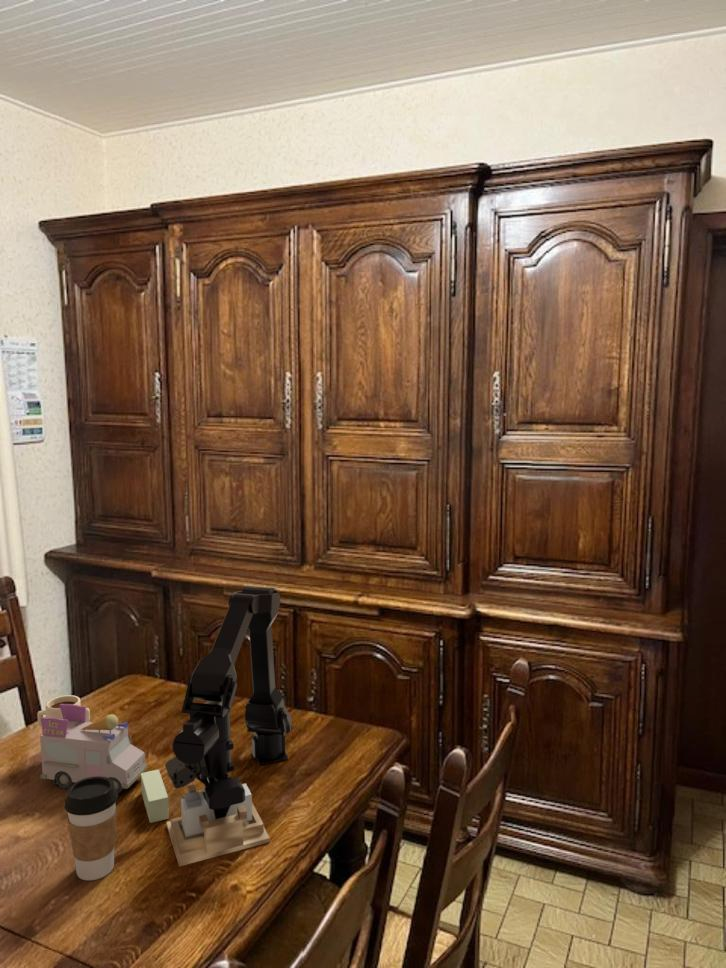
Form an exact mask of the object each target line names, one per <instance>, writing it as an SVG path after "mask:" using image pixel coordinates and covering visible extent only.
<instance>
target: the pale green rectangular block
mask: <svg viewBox="0 0 726 968" xmlns="http://www.w3.org/2000/svg"><path fill="white" fill-rule="evenodd" d="M140 785H141V787H140V788H141V795H142V799H143V803H144V807H145V810H146V815H147V817H148V820H149V824H152V823H156V822H160V821H164V820H167V819H168V820H169V819H170V812H169V811H170V810H169V808H170V807H169V795H168V793H167V789H166V786H165V784H164V780H163V778H162V775H161V772H160V769H153V770H150V771H144V772H143V773H141V775H140Z"/></svg>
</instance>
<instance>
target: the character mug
mask: <svg viewBox="0 0 726 968" xmlns="http://www.w3.org/2000/svg"><path fill="white" fill-rule="evenodd" d="M60 704H64V705H68V704H72V705H79V706H82V704H81V698H80V697H79V696H76V695H73V694H72V695H71V694H70V695H68V694H65V695H60V696H57V697H53V698H51V699H50V700H48V701H47V702H46V703H45V710H39V711H37V725H38V726H42V723H41V718H42V717H43V716H45V718H59V719H63V716H62V712H61V709H60ZM90 720H91V710H90V708H89V707H86V722H91V721H90Z"/></svg>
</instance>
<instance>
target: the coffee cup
mask: <svg viewBox="0 0 726 968" xmlns="http://www.w3.org/2000/svg"><path fill="white" fill-rule="evenodd" d="M66 792H67V793H66V797H65V800H64V805H63V806H64V809H65V811H66V812H67V815H68V816H67V824H68V830H69V837H70V841H71V842H70V843H71V848H72V854H73V857H74V863H75V864H74V865H75V872H76V875H77V877H78V878H79V879H81V880H83V881H96V880H99V879H102V878H104V877H106V876H107V875H109V874H110V873H111V872H112V871H113V868H114V865H115V845H116V830H117V829H116V827H117V825H116V824H117V806H116V803H117V800H118V797H119V793H118V794H117V790H116V788H115V786H114V782H113V781H112V780H111V779H109V778H106V777H101V776H96V777H89V778H85V779H82V780H80V781H78V782H73V784H72V785H71V786H70V787H68V788H67V791H66Z"/></svg>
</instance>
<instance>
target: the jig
mask: <svg viewBox="0 0 726 968" xmlns="http://www.w3.org/2000/svg"><path fill="white" fill-rule="evenodd" d="M196 788H197V787H196V786H195V784H190V785H189V784H188V785H187V794H188V793H193V792H197V791H198V793H199V794H203V793H202V792H205V788H204V789H199V790H197V789H196ZM259 814H260V813H258V811H257V809H256V807H255V805H254V802H252V820H250V821H246V822H243V819H247V811H246V809H245V807H244V805H242V806H238V807H237V814H235V815H231V816H227V817H223V818H219V819H215V820H211V821H209V820H208V818H207V815H206V814H205V815H201V816H199V824H200V826H201V829H202V830H203V829H204V832H203V833H199V834H195V835H191V836H187V837H186V835H185V832H184V829H183V826H182V816H180V817H179V816H178V817H174V818H171V819H170V821H166V828H167V831H168V835H169V837H170V838H169V839H170V841H171V844H172V848H173V851H174V854H175V857H176V861H177V865H178V867H183V866H186V865H190V864H194V863H197V862H201V861H205V860H208V859H211V858H216V857H220V856H224V855H227V854H231V853H235V852H239V851H241V850H245V849H249V848H253V847H254V848H255V847H257V846H260V845H263V844H265V845H266V844H268V843H270V842H271V838H270V836H269V834H268V832H267V830H266V827H265V826H264V825H265V824H264V823H263V822H264V821H263V820H262V818H261V816H260V815H259Z"/></svg>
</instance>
